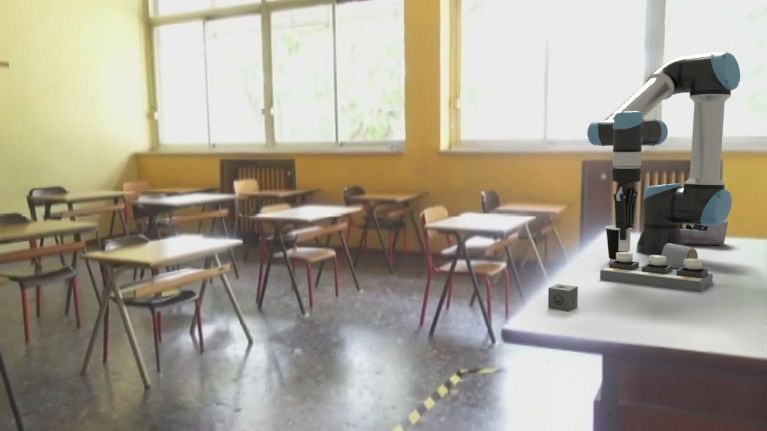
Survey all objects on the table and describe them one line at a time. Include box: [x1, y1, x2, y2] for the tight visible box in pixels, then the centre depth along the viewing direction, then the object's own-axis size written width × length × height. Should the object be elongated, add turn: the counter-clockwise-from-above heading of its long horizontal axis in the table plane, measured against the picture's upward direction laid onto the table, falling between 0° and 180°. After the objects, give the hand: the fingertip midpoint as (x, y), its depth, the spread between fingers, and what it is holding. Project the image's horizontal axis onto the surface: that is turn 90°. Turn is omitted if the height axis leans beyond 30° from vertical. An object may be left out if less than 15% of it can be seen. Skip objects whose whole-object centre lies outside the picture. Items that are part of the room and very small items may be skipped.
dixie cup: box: [605, 225, 633, 263], centre depth 204 cm, size 8×8×11 cm
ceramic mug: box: [660, 243, 699, 270], centre depth 190 cm, size 11×8×8 cm
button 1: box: [616, 252, 634, 262], centre depth 182 cm, size 4×4×2 cm
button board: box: [599, 260, 714, 292], centre depth 176 cm, size 12×26×4 cm, turn 51°
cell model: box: [680, 218, 728, 246], centre depth 234 cm, size 13×11×20 cm
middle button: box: [648, 255, 666, 265], centre depth 177 cm, size 4×4×2 cm
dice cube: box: [547, 283, 579, 313], centre depth 150 cm, size 5×5×5 cm
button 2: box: [683, 258, 703, 269], centre depth 171 cm, size 4×4×2 cm
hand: (624, 251), depth 182 cm, fingers closed
